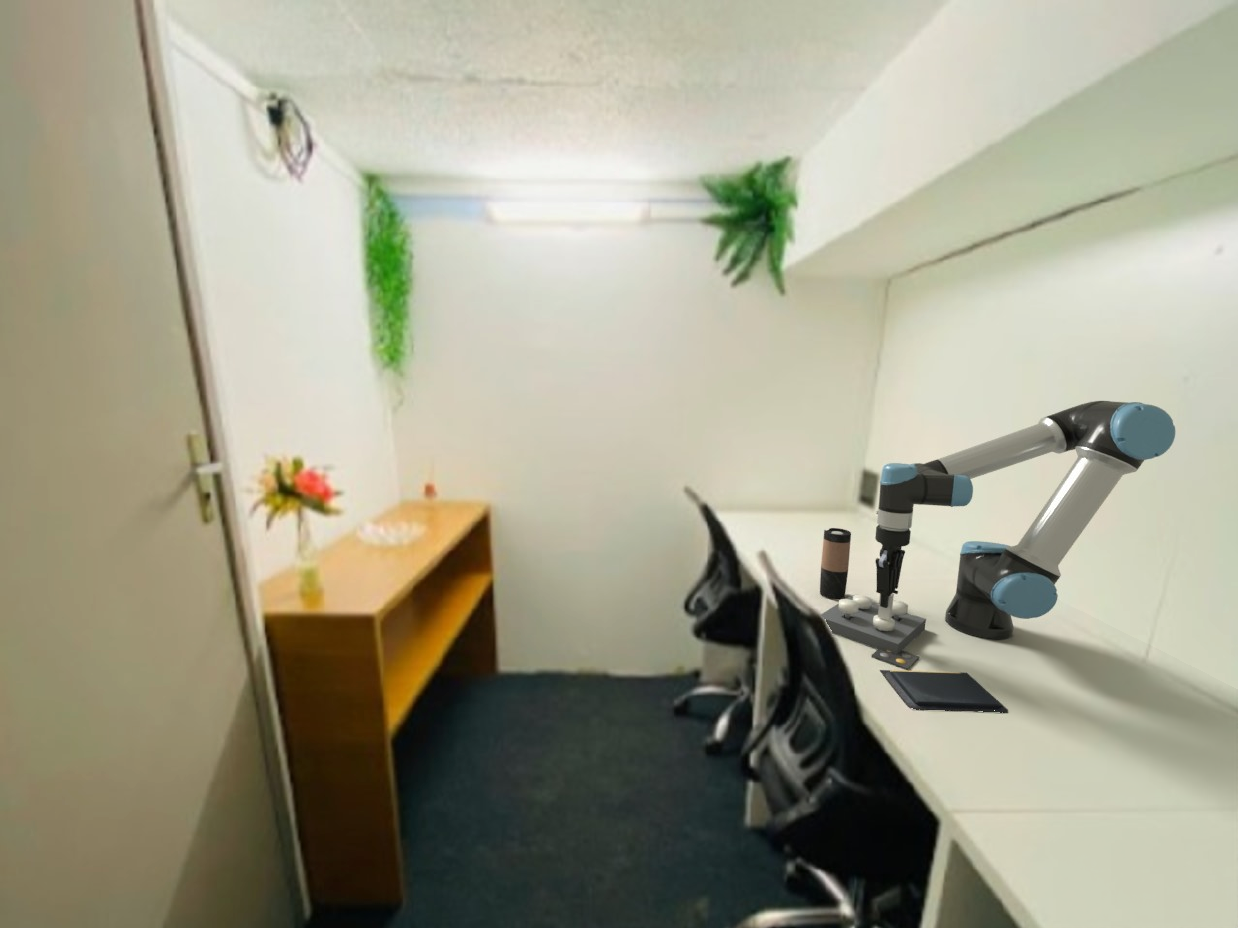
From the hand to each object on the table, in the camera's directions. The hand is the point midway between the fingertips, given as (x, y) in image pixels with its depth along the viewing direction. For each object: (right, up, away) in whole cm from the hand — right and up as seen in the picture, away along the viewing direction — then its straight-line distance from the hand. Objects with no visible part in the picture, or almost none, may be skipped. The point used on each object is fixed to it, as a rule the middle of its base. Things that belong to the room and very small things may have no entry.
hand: (884, 617), depth 136 cm
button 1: (+6, -3, +7) cm, 10 cm away
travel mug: (-2, -1, +29) cm, 29 cm away
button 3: (0, -3, +13) cm, 14 cm away
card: (-1, -7, -7) cm, 10 cm away
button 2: (0, -5, +1) cm, 5 cm away
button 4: (-6, -3, +7) cm, 10 cm away
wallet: (+2, -10, -21) cm, 23 cm away
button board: (0, -5, +7) cm, 9 cm away
